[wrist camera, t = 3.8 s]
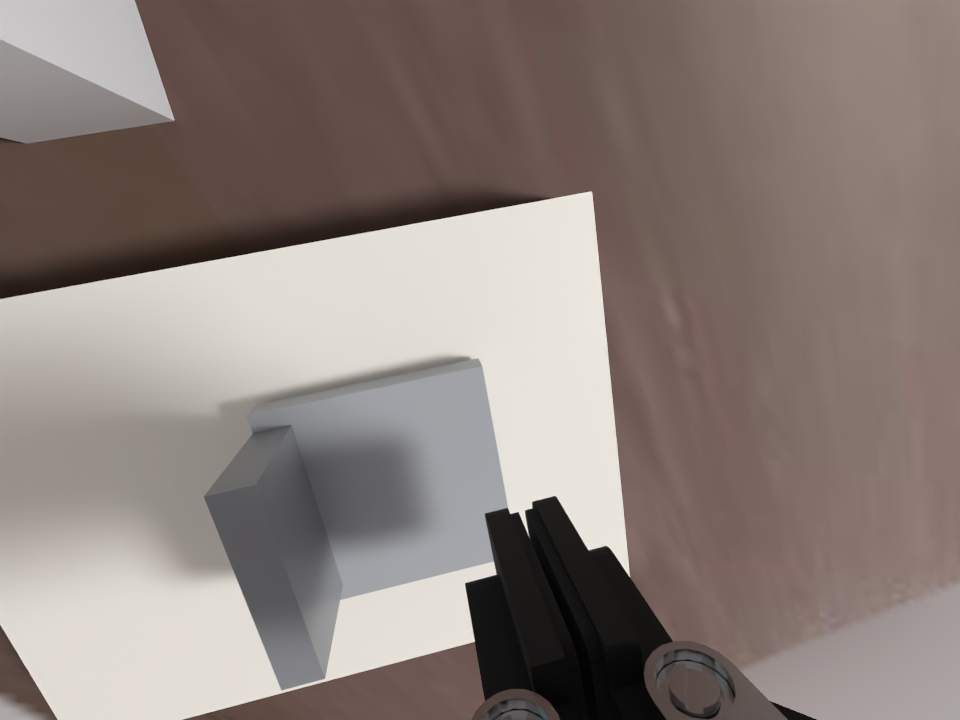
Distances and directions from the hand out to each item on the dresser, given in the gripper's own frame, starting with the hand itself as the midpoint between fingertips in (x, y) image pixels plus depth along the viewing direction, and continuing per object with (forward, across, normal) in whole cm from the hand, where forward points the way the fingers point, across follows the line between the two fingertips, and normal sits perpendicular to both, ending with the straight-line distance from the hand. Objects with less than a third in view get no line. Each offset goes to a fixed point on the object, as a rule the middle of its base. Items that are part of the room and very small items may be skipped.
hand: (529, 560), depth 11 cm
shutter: (+4, +3, -1) cm, 5 cm away
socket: (+7, +5, -1) cm, 9 cm away
